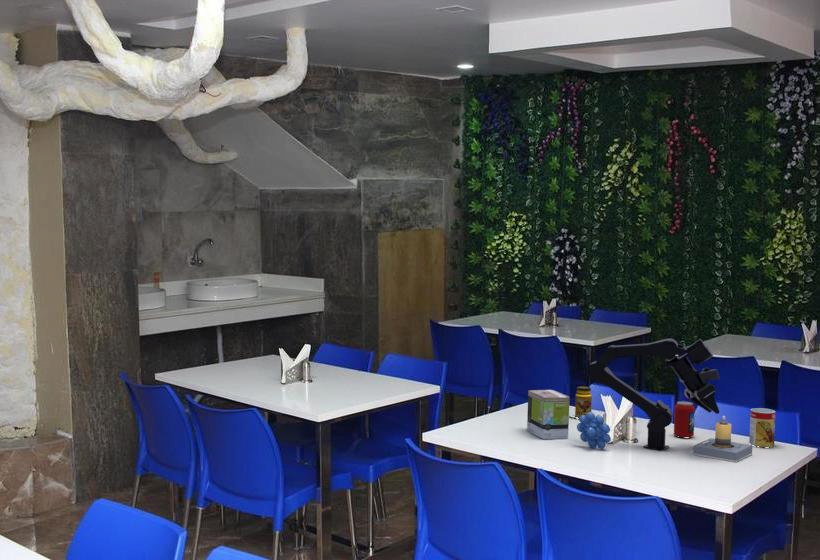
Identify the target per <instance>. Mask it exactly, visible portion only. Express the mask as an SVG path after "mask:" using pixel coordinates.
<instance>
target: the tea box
mask: <svg viewBox="0 0 820 560" xmlns="http://www.w3.org/2000/svg"><path fill="white" fill-rule="evenodd" d="M570 400H571V398H570V396H568V395H567V394H563V393H561V392H559V391H556V390H555V389H535V390H533V389H532V390H528V391H527V415H526V417H527V421H526V430H527V431H528V432H530V433H532V434H533V435H535V436H537V437H539V438H540V439H542V440H557V439H558V440H560V439H568V438H569V424H570V422H569V421H570Z"/></svg>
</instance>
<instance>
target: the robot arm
mask: <svg viewBox="0 0 820 560" xmlns="http://www.w3.org/2000/svg"><path fill="white" fill-rule="evenodd" d="M639 356H640V357H641V356H642V357H643V356H652V357H659V358H666V359H665V366H664V369H665V370H667V369H668V368H670V367H671V368H672V370H673V371H674V373H675V374H676V375H677V377H678V378H679V382H680V383H682V384H683V386H684V387H685V388H684V391H683V394H684V396H685V398H686V399H689V401H690V402H691V403H693V404H696V405H697V406H699V407H700V408H701V409H702V410H705V411H706V412H707V413H712V412H713V413H714V414H716V415H719V414H720V409H719V406H718V405H717V401H716V399H715V395H716V392H717V388H716V386H715V385H714V384H713V383H708V382H710V381H714V380H715V381H717V380H720V379H721V378H720V375H719V372H718V369H717V368H716V369H710V368H709V367H705V368H702V370H701V372H700V371H699V370H697V369H695V368H694V366H693V365H698V366H699V365H702V364H703V363H704V362H706V361H708V360H709V359H711V358H713V357H714V354H713V352H712V351H711V349H710V348H709V345H707V344H705V342H704V341H703V340H702V339H701V338H699V339H697V340H696V341H695V342H693V344H691V345H689V346H685V345H683V344H679V343H678V342H677V341H676V340H675V339H674V338H664V339H660V340H656V341H653V342H649V343H637V344H623V345H621V344H620V345H619V344H618V345H615V344H612V345H610V346H608V347H606V349H605V351H604V352H603V354H601V356H599V358H598V359H597V360H595V361H593V362H591V363H590V364H589V365H588V366H587V368H586V377H588V379H589V380H592V381H593V382H596V383H598V384H600V385H602V386H606V387H608V388H610V389H611V390H613V392H616V393H617V394H619V395H620V396H622V397H623V398H624V399H626V400H627V401H629V402H630V403H632V404H633V405H635V407H637V408H639V409H640V410H642V411H643V412H644V414H646V416H647V417H648V418H649V420H648V422H647V424H646V428H647V444H645V445H643V446H642V447H643V448H645V449H650V450H657V451H664V450H666V449H668V448H670V445H666V433H667V432H666V427H668V426H670V425H671V423H672V420H673V419H674V417H673V416H674V412H673V411H672V410H671V408H670V405H667V404H665V403H664V402H663V401H662V400H661V399H658V400H657V402H656V401H653V400H650V399H649V398H648V397H646V396H644V395H643V394H642V393H641V392H639V391H638V390H636V389H635V388H633V387H632V386H630V385H628V384H627V383H626V382H624V381H623V380H622V379H620V378H619V377H617V376H616V375H615V374H614V373H613V372H612V370H611V369H610V368H609V367H608V366H609V365H610V363H612V361H613V360H614V359H615V358H624V357H625V358H626V357H627V358H628V357H639ZM670 358H671V359H670ZM692 364H693V365H692Z"/></svg>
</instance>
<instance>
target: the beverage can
mask: <svg viewBox="0 0 820 560" xmlns="http://www.w3.org/2000/svg"><path fill="white" fill-rule="evenodd" d="M695 411H696V408H695V406H694V402H692V401H685V400H684V401H676V404H675V406H674V412H673V416H674V417H673V419H674V421H673V435H674V436H676V437H677V436H679V437H691V438H692V437H694V435H695V413H696V412H695ZM679 437H678V438H679Z"/></svg>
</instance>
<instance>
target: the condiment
mask: <svg viewBox="0 0 820 560" xmlns="http://www.w3.org/2000/svg"><path fill="white" fill-rule="evenodd" d="M591 390H592V389H591V387H590V386H581V385H580V386H577V387H576V393H575V401H574V402H575V405H574V406H575V410H574V411H575V412H574V413H575V414H574V416H575V417H578V418H579V417H580V416H581V415H585V416H586V417H587V413H588V412H592V402H593V397H592V396H593V395H592V394H591V393H592V391H591Z"/></svg>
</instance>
